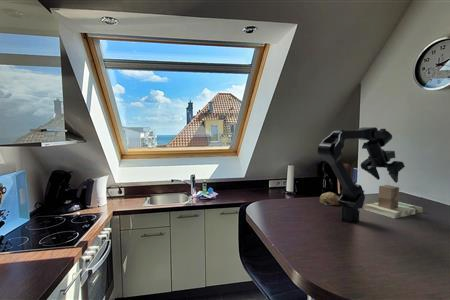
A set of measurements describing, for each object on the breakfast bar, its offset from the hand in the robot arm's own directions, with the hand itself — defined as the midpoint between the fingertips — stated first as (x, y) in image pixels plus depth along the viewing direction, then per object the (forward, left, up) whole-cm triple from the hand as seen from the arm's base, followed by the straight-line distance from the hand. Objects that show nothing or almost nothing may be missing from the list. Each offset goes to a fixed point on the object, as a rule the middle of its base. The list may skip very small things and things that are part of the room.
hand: (387, 180), depth 126 cm
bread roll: (-26, +8, -17) cm, 32 cm away
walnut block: (+1, +6, -14) cm, 15 cm away
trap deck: (+3, +9, -16) cm, 19 cm away
